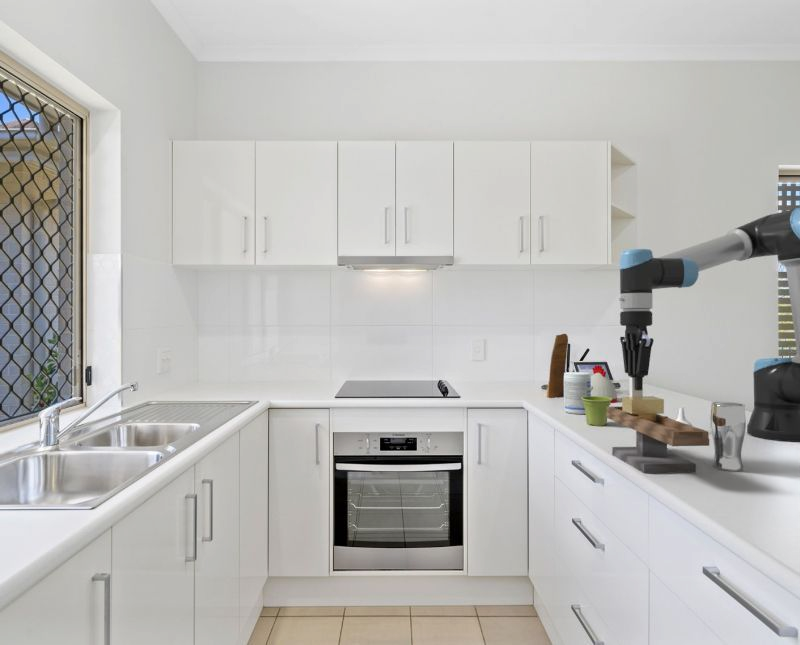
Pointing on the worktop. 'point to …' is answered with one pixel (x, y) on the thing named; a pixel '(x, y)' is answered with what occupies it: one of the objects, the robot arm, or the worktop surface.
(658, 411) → the brass rider
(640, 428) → the balance beam
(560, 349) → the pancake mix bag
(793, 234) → the robot arm
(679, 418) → the garlic bulb
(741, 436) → the beer glass
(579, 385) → the supplement tub
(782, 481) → the worktop surface
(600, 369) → the kitchen timer
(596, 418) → the plant pot
